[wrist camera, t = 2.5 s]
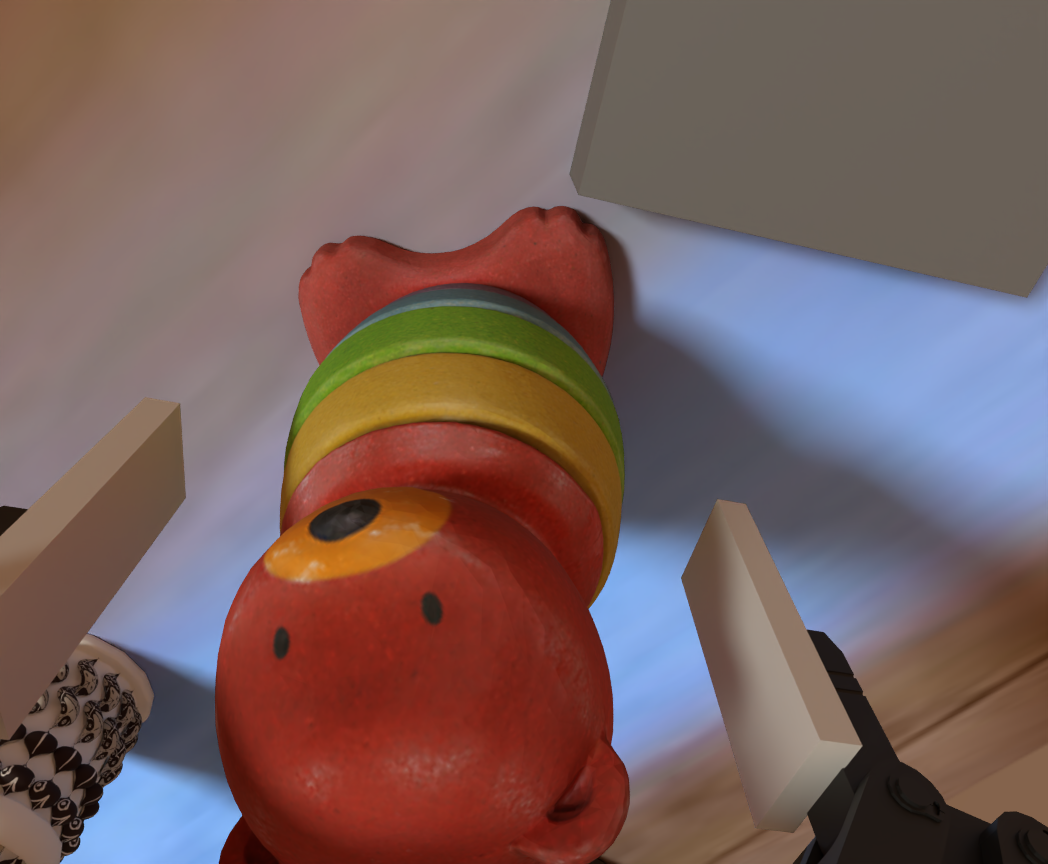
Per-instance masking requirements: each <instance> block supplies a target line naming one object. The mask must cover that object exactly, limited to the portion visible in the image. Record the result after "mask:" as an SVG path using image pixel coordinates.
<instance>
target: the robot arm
mask: <svg viewBox="0 0 1048 864" xmlns="http://www.w3.org/2000/svg"><path fill="white" fill-rule="evenodd" d="M185 498H186V492H185V476H184V460H183V444H182V428H181V412H180V403H174V402H169V401H163V400H157V399H152V398H146V397H145V398H144V399H143V400H142V401H141V402H140V403H139V404H138V405H137V406H136V407H135V408H134V409H133V410H132V411H131V412H130V413H129V414H127V415H126V416H125V417H124V418H123V419H122V420H121V421H120V422H119V423H118V424H117V425H116V426H115V427H114V428H113V429H112V430H111V431H110V432H109V433H108V434H107V435H106V436H104V437H103V438H102V439H101V440H100V441H99V442H98V443H97V444H96V445H95V446H94V447H93V448H92V449H91V450H90V451H89V452H88V453H87V454H86V455H85V456H84V457H83V458H82V459H80V460H79V461H78V462H77V463H76V464H75V465H74V466H73V467H72V468H71V469H70V470H69V471H68V472H67V473H66V474H65V475H64V476H63V477H62V478H61V479H60V480H59V481H57V482H56V483H55V484H54V485H53V486H52V487H51V488H50V489H49V490H48V491H47V492H46V493H45V494H44V495H43V496H42V497H41V498H40V499H39V500H38V501H37V502H36V503H35V504H33V505H32V506H31V507H30V508H29V509H22V508H16V507H9V506H2V507H0V739H4V740H10V738H11V737H12V736H13V734H14V733H15V731H16V730H17V729H18V727H19V726H20V725H21V723H22V722H23V720H24V719H25V718H26V716H27V715H28V714H29V712H30V711H31V709H32V708H33V707H34V705H35V704H36V703H37V701H38V700H39V698H40V697H41V696H42V694H43V693H44V692H45V690H46V689H47V687H48V686H49V685H50V683H51V682H52V681H53V679H54V678H55V677H56V675H57V674H58V672H59V671H60V670H61V668H62V667H63V666H64V664H65V663H66V661H67V660H68V659H69V657H70V656H71V655H72V653H73V652H74V650H75V649H76V648H77V646H78V645H79V644H80V642H81V641H82V639H83V638H84V637H85V635H86V634H87V633H88V631H89V630H90V628H91V627H92V626H93V624H94V623H95V622H96V620H97V619H98V617H99V616H100V615H101V613H102V612H103V611H104V609H105V608H106V607H107V605H108V604H109V602H110V601H111V600H112V598H113V597H114V596H115V594H116V593H117V591H118V590H119V589H120V587H121V586H122V585H123V583H124V582H125V580H126V579H127V578H128V576H129V575H130V574H131V572H132V571H133V569H134V568H135V567H136V565H137V564H138V563H139V561H140V560H141V558H142V557H143V556H144V554H145V553H146V552H147V550H148V549H149V547H150V546H151V545H152V543H153V542H154V541H155V539H156V538H157V537H158V535H159V534H160V532H161V531H162V530H163V528H164V527H165V526H166V524H167V523H168V521H169V520H170V519H171V517H172V516H173V515H174V513H175V512H176V510H177V509H178V508H179V506H180V505H181V504H182V502H183V501H184V499H185ZM681 579H682V583H683V586H684V589H685V593H686V596H687V600H688V603H689V606H690V610H691V613H692V616H693V620H694V623H695V626H696V630H697V633H698V637H699V640H700V643H701V647H702V650H703V653H704V657H705V660H706V663H707V667H708V670H709V674H710V677H711V680H712V684H713V687H714V690H715V694H716V697H717V700H718V704H719V707H720V711H721V714H722V717H723V721H724V724H725V727H726V731H727V734H728V737H729V741H730V744H731V748H732V751H733V754H734V758H735V761H736V764H737V768H738V771H739V774H740V778H741V781H742V785H743V788H744V791H745V795H746V798H747V801H748V805H749V808H750V811H751V815H752V818H753V822H754V825H755V828H757V829H765V830H774V831H782V832H791V833H794V832H795V830H796V829H797V828H798V827H799V825H800V824H801V823H802V822H803V820H804V819H805V818H806V816H807V815H808V817H809V820H810V823H811V825H812V828H813V831H814V833H815V838H814V839H813V840H812V841H811V842H810V844H809V845H808V846H807V847H806V848H805V850H804V851H803V852H802V853H801V854H800V856H799V857H798V858H797V859H796V860H795V862H794V863H793V864H1048V827H1046V826H1045V825H1043V824H1042V823H1040V822H1038V821H1037V820H1035V819H1034V818H1032V817H1030V816H1027V815H1024V814H1022V813H1019V812H1004V813H1003V814H1002V815H1001V816H999V817H998V818H997V819H996V820H995V821H994V822H993V823H992V824H990V823H988V822H985V821H983V820H981V819H978V818H976V817H974V816H972V815H969V814H967V813H965V812H962V811H960V810H958V809H955V808H953V807H951V806H949V805H947V804H946V803H945V801H944V799H943V797H942V795H941V794H940V793H939V792H938V790H937V789H936V788H935V787H934V785H933V784H932V783H931V782H930V781H929V780H928V779H927V778H925V777H924V776H923V775H922V774H921V773H919V772H918V771H917V770H915V769H913V768H912V767H910V766H908V765H906V764H904V763H902V762H900V761H899V759H898V758H897V756H896V754H895V752H894V750H893V748H892V746H891V744H890V742H889V740H888V738H887V737H886V735H885V733H884V731H883V729H882V727H881V725H880V723H879V721H878V719H877V717H876V716H875V714H874V712H873V710H872V708H871V706H870V704H869V702H868V700H867V698H866V696H863V691H862V689H861V687H860V685H859V683H858V681H857V679H856V678H854V677H853V675H854V674H853V672H852V670H851V668H850V666H849V664H848V662H847V660H846V658H845V656H844V654H843V653H842V651H841V650H840V649H839V648H838V647H837V646H836V645H835V644H834V643H833V642H832V641H831V640H830V638H829V637H828V636H827V635H826V634H825V633H824V632H819V631H813V630H806V628H805V626H804V624H803V622H802V619H801V617H800V615H799V613H798V611H797V609H796V607H795V605H794V603H793V601H792V599H791V597H790V595H789V593H788V591H787V588H786V586H785V584H784V582H783V580H782V578H781V576H780V574H779V572H778V570H777V568H776V566H775V564H774V562H773V559H772V557H771V555H770V553H769V551H768V549H767V547H766V545H765V543H764V541H763V539H762V537H761V535H760V533H759V530H758V528H757V526H756V524H755V522H754V520H753V518H752V516H751V514H750V512H749V510H748V508H747V506H746V504H743V503H737V502H731V501H726V500H720V499H717V501H716V503H715V505H714V507H713V510H712V512H711V514H710V516H709V518H708V520H707V523H706V525H705V527H704V529H703V531H702V534H701V536H700V538H699V540H698V542H697V544H696V547H695V549H694V551H693V553H692V555H691V557H690V560H689V562H688V564H687V566H686V568H685V571H684V573H683V575H682V577H681ZM588 864H605V863H603V862H602V861H600V860H598V859H595V860H593V861H592V862H590V863H588Z"/></svg>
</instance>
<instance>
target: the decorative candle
mask: <svg viewBox="0 0 1048 864" xmlns="http://www.w3.org/2000/svg"><path fill="white" fill-rule="evenodd" d="M153 699H154V692H153V690H152V688H151V685H150V683H149V680H148V678H147V675H146V673H145V672H144V671H143V670H142V669H141V668H140V667H139V666H138V665H137V664H136V663H135V662H134V661H133V660H132V659H131V658H130V657H129V656H128V655H127V654H126V653H125V652H123V651H121V650H119V649H117V648H116V647H114V646H112V645H110V644H108V643H106V642H104V641H103V640H101V639H99V638H97V637H95V636H93V635H90V634H86V635H85V637H84V638H83V639H82V641H81V642H80V644H79V645H78V646H77V648H76V649H75V650H74V652H73V653H72V655H71V656H70V657H69V659H68V660H67V661H66V663H65V664H64V666H63V667H62V668H61V670H60V671H59V672H58V674H57V675H56V677H55V678H54V679H53V681H52V682H51V683H50V685H49V686H48V687H47V689H46V690H45V692H44V693H43V694H42V696H41V697H40V698H39V700H38V701H37V703H36V704H35V705H34V707H33V708H32V709H31V711H30V712H29V714H28V715H27V716H26V718H25V719H24V720H23V722H22V723H21V725H20V726H19V727H18V729H17V730H16V731H15V733H14V734H13V736H12V737H11V738H10V740H4V739H0V864H60V862H61V861H62V860H63V858H64V856H67V855H70V854H72V853H73V852H75V851H76V850H77V849H78V847H79V845H80V838H79V836H80V835H81V834H82V832H83V830H84V823H83V822H84V820H85V819H89V818H91V817H93V816H94V815H95V814H96V813H97V812H98V810H99V803H98V801H99V800H100V799H101V797H102V795H103V787H104V786H106V785H107V784H109V783H111V782H112V781H113V780H115V779H116V778H117V777H118V775H119V774H120V772H121V770H122V767H123V764H122V761H123V760H124V757H125V754H126V753H127V752H128V751H130V750H131V749H132V748H133V747H134V746H135V744H136V743H137V740H138V732H139V730H140V728H141V725H142V723H143V722H144V721H145V720H147V719H148V717H149V715H150V712H151V708H152V703H153Z"/></svg>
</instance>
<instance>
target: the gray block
mask: <svg viewBox="0 0 1048 864" xmlns="http://www.w3.org/2000/svg"><path fill="white" fill-rule="evenodd" d="M570 176H571V178H572V181H573V183H574V185H575V188H576V190H577V193H578V195H581V196H585V197H590V198H594V199H599V200H603V201H607V202H612V203H616V204H620V205H625V206H629V207H633V208H638V209H642V210H647V211H651V212H655V213H660V214H664V215H668V216H673V217H677V218H682V219H686V220H690V221H695V222H699V223H703V224H708V225H712V226H717V227H721V228H725V229H730V230H734V231H738V232H743V233H747V234H751V235H756V236H760V237H765V238H769V239H773V240H778V241H782V242H786V243H791V244H795V245H800V246H804V247H808V248H813V249H817V250H821V251H826V252H830V253H834V254H839V255H843V256H848V257H852V258H856V259H861V260H865V261H869V262H874V263H878V264H883V265H887V266H891V267H896V268H900V269H904V270H909V271H913V272H918V273H922V274H926V275H931V276H935V277H939V278H944V279H948V280H952V281H957V282H961V283H966V284H970V285H974V286H979V287H983V288H987V289H992V290H996V291H1001V292H1005V293H1009V294H1014V295H1018V296H1022V297H1028V295H1029V293H1030V292H1031V290H1032V289H1033V287H1034V285H1035V284H1036V282H1037V281H1038V279H1039V277H1040V276H1041V274H1042V273H1043V271H1044V269H1045V268H1046V266H1047V265H1048V0H611V2H610V6H609V10H608V15H607V19H606V23H605V27H604V31H603V36H602V40H601V44H600V48H599V52H598V57H597V61H596V65H595V69H594V73H593V77H592V82H591V86H590V90H589V94H588V98H587V103H586V107H585V111H584V115H583V119H582V124H581V128H580V132H579V136H578V140H577V145H576V149H575V153H574V157H573V161H572V166H571V170H570Z"/></svg>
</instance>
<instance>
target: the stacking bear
mask: <svg viewBox="0 0 1048 864" xmlns="http://www.w3.org/2000/svg"><path fill="white" fill-rule="evenodd" d="M299 304H300V308H301V312H302V317H303V321H304V325H305V328H306V331H307V334H308V338H309V341H310V343H311V346H312V349H313V351H314V354H315V356H316V359H317V361H318V363H319V365H320V366H319V367H318V368H317V370H316V371H315V372H314V374H313V375H312V377H311V378H310V380H309V382H308V384H307V386H306V388H305V390H304V392H303V394H302V396H301V398H300V401H299V404H298V407H297V409H296V412H295V415H294V418H293V422H292V425H291V429H290V432H289V437H288V441H287V446H286V452H285V461H284V477H283V483H282V490H281V504H280V537H279V538H278V539H277V540H276V541H275V543H274V544H273V545H272V546H271V547H270V548H269V549H268V550H267V551H266V552H265V553H264V554H263V555H262V557H261V558H260V559H259V560H258V561H257V562H256V563H255V564H254V566H253V567H252V568H251V569H250V571H249V573H248V574H247V576H246V578H245V579H244V581H243V583H242V584H241V586H240V588H239V590H238V592H237V594H236V596H235V598H234V600H233V603H232V605H231V607H230V610H229V613H228V615H227V618H226V620H225V625H224V629H223V634H222V639H221V643H220V648H219V653H218V660H217V671H216V686H215V723H216V732H217V738H218V745H219V751H220V755H221V759H222V763H223V767H224V771H225V775H226V778H227V782H228V785H229V787H230V789H231V792H232V794H233V797H234V799H235V802H236V804H237V805H238V807H239V809H240V811H241V813H242V817H241V818H240V819H239V821H238V822H237V824H236V825H235V826H234V828H233V829H232V831H231V832H230V834H229V836H228V838H227V840H226V842H225V844H224V847H223V849H222V851H221V855H220V860H219V864H588V863H590V862H592V861H593V860H595V859H596V858H598V857H600V856H601V855H602V854H603V853H604V852H605V851H606V850H607V849H608V848H609V847H610V846H611V845H612V844H613V843H614V841H615V839H616V838H617V836H618V834H619V833H620V831H621V829H622V827H623V824H624V822H625V820H626V817H627V813H628V808H629V804H630V790H629V778H628V774H627V771H626V768H625V765H624V763H623V762H622V761H621V759H620V758H619V756H618V755H617V754H616V752H615V751H614V749H613V748H612V746H611V741H612V735H613V694H612V687H611V680H610V673H609V669H608V665H607V660H606V656H605V653H604V649H603V645H602V643H601V640H600V637H599V634H598V631H597V629H596V626H595V624H594V621H593V619H592V617H591V614H590V612H589V610H588V609H589V608H590V607H591V605H592V604H593V603H594V601H595V600H596V598H597V597H598V595H599V594H600V592H601V590H602V589H603V587H604V585H605V583H606V581H607V578H608V576H609V574H610V571H611V568H612V565H613V562H614V558H615V553H616V549H617V544H618V538H619V531H620V522H621V508H622V502H623V494H624V480H625V468H624V448H623V440H622V433H621V428H620V423H619V418H618V415H617V413H616V410H615V407H614V403H613V400H612V398H611V395H610V393H609V390H608V388H607V386H606V384H605V382H604V380H603V378H602V376H603V373H604V370H605V366H606V362H607V358H608V354H609V350H610V345H611V339H612V331H613V319H614V293H613V278H612V271H611V264H610V258H609V254H608V250H607V246H606V243H605V240H604V237H603V236H602V234H601V232H600V230H599V229H598V228H597V227H596V226H594V225H592V224H588V223H583V222H582V221H581V220H580V218H579V216H578V214H577V213H576V211H575V210H573V209H571V208H569V207H565V206H557V207H554V208H552V209H550V210H544V209H542V208H539V207H528V208H525V209H522V210H520V211H518V212H517V213H515V214H514V215H512V216H511V217H510V218H509V219H508V220H506V221H505V222H504V223H503V224H502V225H501V226H500V227H499V228H497V229H496V230H495V231H494V232H492V233H491V234H490V235H489V236H487V237H486V238H484V239H482V240H480V241H479V242H477V243H475V244H473V245H471V246H468V247H466V248H463V249H460V250H457V251H453V252H444V253H432V254H430V253H417V252H411V251H407V250H404V249H401V248H398V247H395V246H393V245H391V244H388V243H386V242H383V241H381V240H378V239H376V238H371V237H366V236H352V237H349V238H348V239H347V240H345V241H344V242H343V243H339V244H337V243H327V244H324V245H323V246H321V247H320V248H319V249H318V251H317V252H316V253H315V255H314V256H313V259H312V265H311V267H309V268H308V269H307V270H306V271H305V273H304V274H303V275H302V277H301V279H300V284H299Z"/></svg>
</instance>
